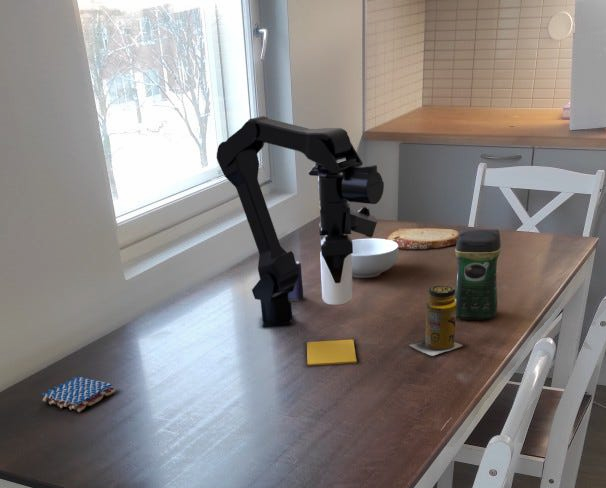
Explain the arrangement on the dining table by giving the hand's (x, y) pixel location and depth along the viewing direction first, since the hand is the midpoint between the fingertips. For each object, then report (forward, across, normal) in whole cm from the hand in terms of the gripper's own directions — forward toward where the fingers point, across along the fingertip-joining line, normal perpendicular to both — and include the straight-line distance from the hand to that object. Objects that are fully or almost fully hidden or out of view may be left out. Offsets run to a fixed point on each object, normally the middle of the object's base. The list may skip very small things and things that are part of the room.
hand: (337, 278), depth 170 cm
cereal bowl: (+12, +43, -9) cm, 46 cm away
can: (+5, +1, 0) cm, 5 cm away
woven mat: (+13, -25, +52) cm, 59 cm away
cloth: (+13, -10, +2) cm, 16 cm away
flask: (+12, +27, +12) cm, 32 cm away
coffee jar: (+13, +7, -31) cm, 34 cm away
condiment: (+13, -10, -20) cm, 26 cm away
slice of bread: (+12, +68, -27) cm, 74 cm away
